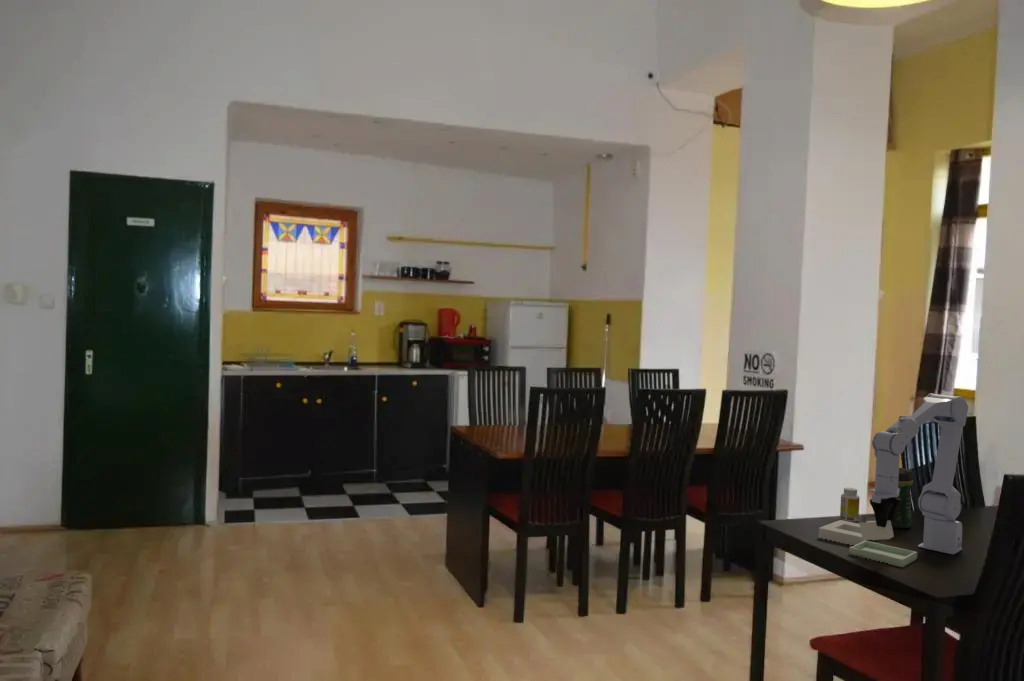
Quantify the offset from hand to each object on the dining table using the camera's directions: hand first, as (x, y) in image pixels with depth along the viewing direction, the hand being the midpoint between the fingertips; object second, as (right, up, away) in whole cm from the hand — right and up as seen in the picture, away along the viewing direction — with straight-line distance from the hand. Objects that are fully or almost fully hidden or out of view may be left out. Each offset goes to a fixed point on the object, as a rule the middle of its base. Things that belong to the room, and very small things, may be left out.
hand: (884, 525), depth 220 cm
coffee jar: (+20, -9, +36) cm, 42 cm away
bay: (-1, -8, +18) cm, 20 cm away
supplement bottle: (+7, -8, +41) cm, 42 cm away
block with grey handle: (-1, -4, +1) cm, 4 cm away
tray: (0, -9, 0) cm, 9 cm away
